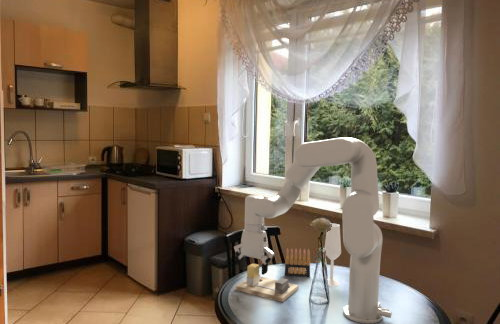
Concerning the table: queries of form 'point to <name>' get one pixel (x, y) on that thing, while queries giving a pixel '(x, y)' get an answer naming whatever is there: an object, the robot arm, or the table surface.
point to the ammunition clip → (297, 264)
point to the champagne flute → (333, 249)
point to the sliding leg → (253, 274)
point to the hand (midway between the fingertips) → (253, 271)
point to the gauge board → (269, 288)
